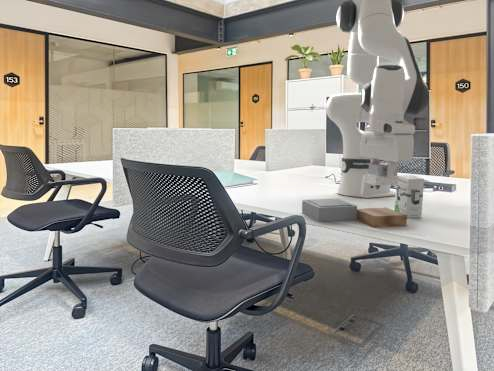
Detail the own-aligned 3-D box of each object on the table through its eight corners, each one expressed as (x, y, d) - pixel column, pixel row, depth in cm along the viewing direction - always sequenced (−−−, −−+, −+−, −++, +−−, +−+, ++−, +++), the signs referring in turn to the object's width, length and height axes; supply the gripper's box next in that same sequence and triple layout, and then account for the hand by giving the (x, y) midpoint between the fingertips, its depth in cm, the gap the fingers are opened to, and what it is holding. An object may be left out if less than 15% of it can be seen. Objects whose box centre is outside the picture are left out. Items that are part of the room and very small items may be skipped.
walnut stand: (385, 217, 122) (385, 207, 122) (406, 225, 112) (407, 214, 112) (354, 218, 119) (355, 208, 119) (373, 227, 110) (374, 216, 109)
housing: (387, 181, 118) (389, 162, 117) (398, 184, 113) (399, 164, 112) (366, 182, 116) (367, 163, 115) (375, 185, 112) (376, 165, 111)
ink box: (393, 211, 130) (396, 174, 128) (408, 211, 131) (411, 174, 129) (405, 218, 122) (408, 178, 120) (422, 218, 122) (425, 178, 120)
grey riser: (337, 211, 130) (338, 197, 129) (356, 219, 119) (357, 205, 118) (301, 212, 127) (302, 199, 126) (318, 221, 116) (318, 206, 115)
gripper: (356, 124, 121) (353, 171, 124) (397, 127, 102) (393, 182, 104) (375, 124, 123) (372, 170, 125) (419, 127, 103) (415, 181, 106)
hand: (382, 176), depth 114 cm, fingers closed on housing, 5 cm apart
